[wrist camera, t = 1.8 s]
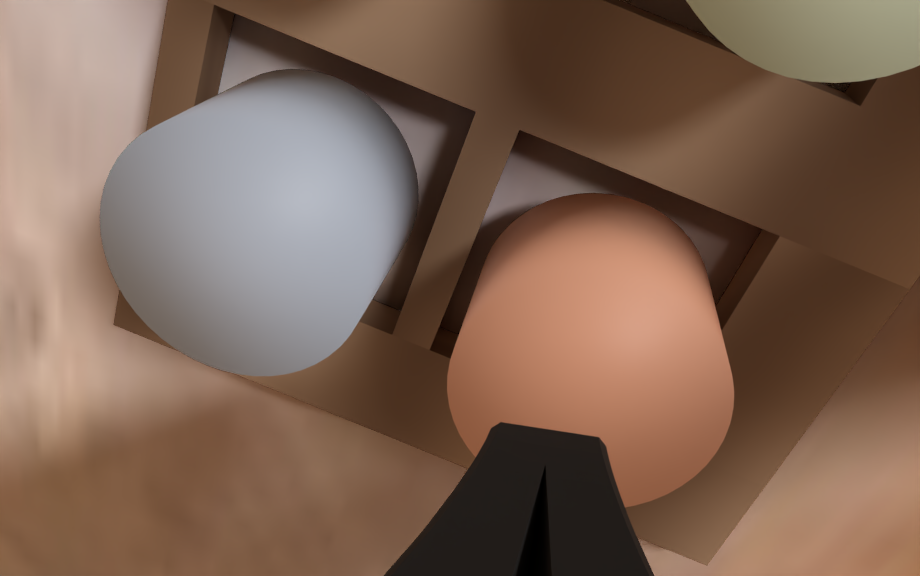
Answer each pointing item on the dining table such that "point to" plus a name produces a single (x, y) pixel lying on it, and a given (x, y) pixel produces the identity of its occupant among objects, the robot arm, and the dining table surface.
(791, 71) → the sage puck
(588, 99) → the brown compartment tray
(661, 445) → the peach rounded cylinder
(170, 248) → the grey short rounded cylinder
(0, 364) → the dining table surface
